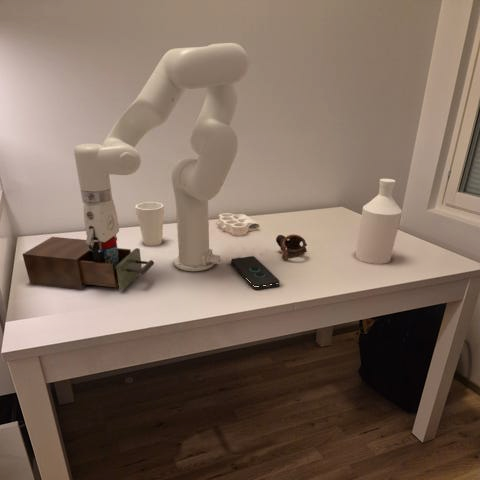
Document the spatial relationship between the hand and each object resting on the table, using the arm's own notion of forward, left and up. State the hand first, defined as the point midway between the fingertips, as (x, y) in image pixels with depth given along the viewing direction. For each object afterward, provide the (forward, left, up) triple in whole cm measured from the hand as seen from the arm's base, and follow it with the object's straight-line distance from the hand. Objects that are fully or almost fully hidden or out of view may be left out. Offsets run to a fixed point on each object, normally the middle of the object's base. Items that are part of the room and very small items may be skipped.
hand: (106, 259), depth 118 cm
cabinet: (+13, +2, -7) cm, 15 cm away
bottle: (-69, -50, -7) cm, 85 cm away
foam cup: (+5, -32, -7) cm, 33 cm away
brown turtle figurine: (-43, -40, -7) cm, 59 cm away
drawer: (-2, 0, -6) cm, 6 cm away
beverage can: (0, 0, -5) cm, 5 cm away
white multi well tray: (-16, -59, -7) cm, 61 cm away
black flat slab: (-37, -21, -7) cm, 43 cm away
